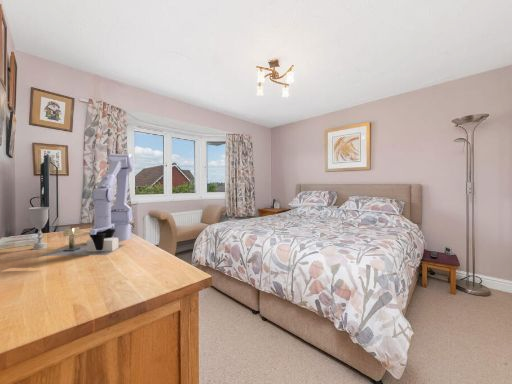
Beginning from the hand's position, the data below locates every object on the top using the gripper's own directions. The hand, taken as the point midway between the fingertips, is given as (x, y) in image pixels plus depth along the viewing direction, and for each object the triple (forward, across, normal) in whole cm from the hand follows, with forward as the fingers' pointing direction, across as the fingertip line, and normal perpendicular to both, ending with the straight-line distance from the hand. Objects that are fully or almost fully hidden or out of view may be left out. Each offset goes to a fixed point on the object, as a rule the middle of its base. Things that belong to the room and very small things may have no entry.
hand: (103, 247), depth 98 cm
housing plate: (+2, 0, -6) cm, 7 cm away
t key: (0, -3, -12) cm, 12 cm away
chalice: (+2, -7, -30) cm, 31 cm away
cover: (+1, 0, 0) cm, 1 cm away
